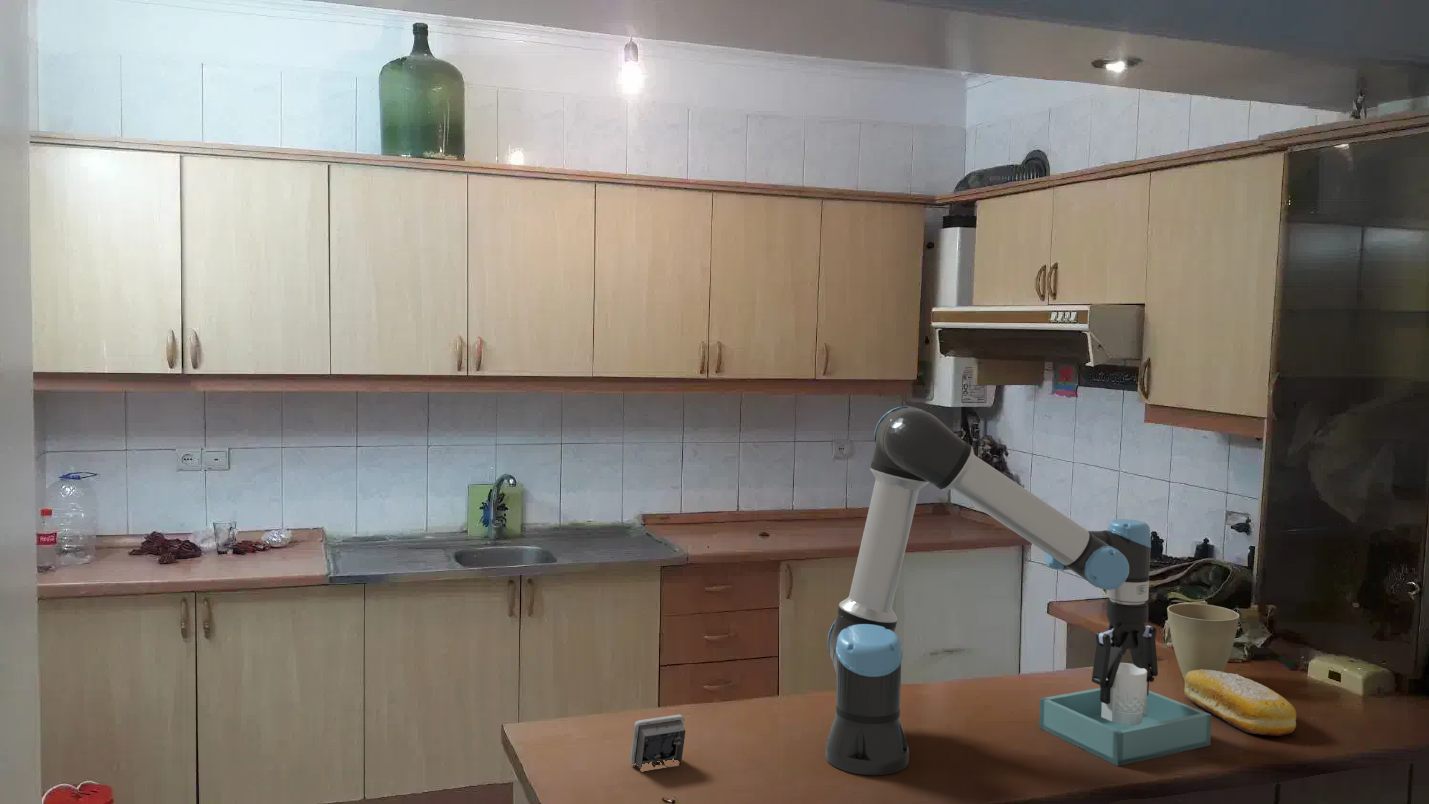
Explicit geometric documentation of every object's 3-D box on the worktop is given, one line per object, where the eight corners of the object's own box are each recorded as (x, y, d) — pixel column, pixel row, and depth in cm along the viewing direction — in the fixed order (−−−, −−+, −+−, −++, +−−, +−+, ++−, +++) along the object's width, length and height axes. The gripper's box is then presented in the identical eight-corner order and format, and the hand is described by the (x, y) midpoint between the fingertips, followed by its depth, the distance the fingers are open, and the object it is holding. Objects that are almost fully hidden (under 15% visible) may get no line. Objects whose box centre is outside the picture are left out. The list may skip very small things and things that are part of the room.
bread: (1251, 743, 198) (1253, 703, 197) (1167, 696, 223) (1168, 661, 223) (1312, 739, 200) (1314, 699, 199) (1222, 693, 226) (1223, 658, 225)
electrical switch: (677, 757, 188) (679, 709, 186) (688, 771, 183) (690, 722, 182) (629, 765, 184) (630, 716, 183) (638, 779, 179) (640, 729, 178)
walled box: (1117, 766, 186) (1118, 733, 185) (1039, 728, 204) (1040, 698, 203) (1210, 745, 196) (1211, 714, 196) (1127, 710, 214) (1128, 682, 214)
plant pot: (1183, 665, 245) (1186, 599, 244) (1248, 681, 233) (1251, 612, 232) (1152, 678, 235) (1154, 609, 234) (1218, 695, 224) (1221, 623, 223)
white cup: (1154, 723, 197) (1156, 672, 197) (1122, 728, 195) (1124, 677, 194) (1124, 709, 205) (1126, 660, 204) (1093, 714, 202) (1094, 664, 201)
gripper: (1102, 610, 191) (1099, 730, 192) (1181, 599, 199) (1177, 714, 201) (1073, 600, 197) (1069, 717, 199) (1150, 590, 206) (1146, 702, 207)
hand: (1123, 715), depth 200 cm, fingers closed on white cup, 8 cm apart
